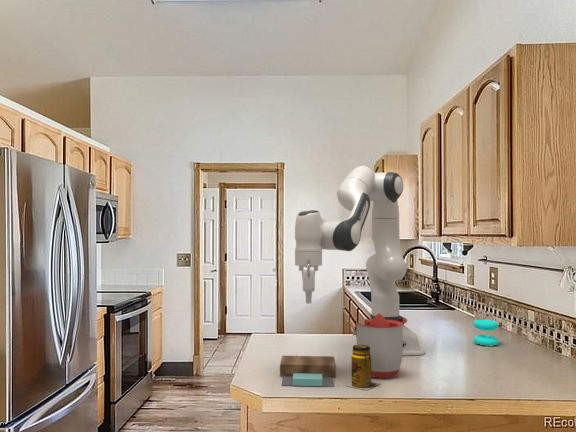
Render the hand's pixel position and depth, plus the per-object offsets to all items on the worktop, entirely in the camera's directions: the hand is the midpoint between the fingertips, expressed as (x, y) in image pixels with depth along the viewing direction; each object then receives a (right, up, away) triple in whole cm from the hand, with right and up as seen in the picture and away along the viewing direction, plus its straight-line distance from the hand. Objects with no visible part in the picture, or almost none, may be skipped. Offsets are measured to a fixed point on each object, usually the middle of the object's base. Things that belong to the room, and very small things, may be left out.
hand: (308, 303), depth 158 cm
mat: (-1, -24, -5) cm, 24 cm away
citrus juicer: (+23, -25, +4) cm, 34 cm away
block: (-1, -21, -7) cm, 23 cm away
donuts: (+78, -27, +51) cm, 97 cm away
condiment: (+16, -24, -8) cm, 30 cm away
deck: (0, -24, +5) cm, 25 cm away
